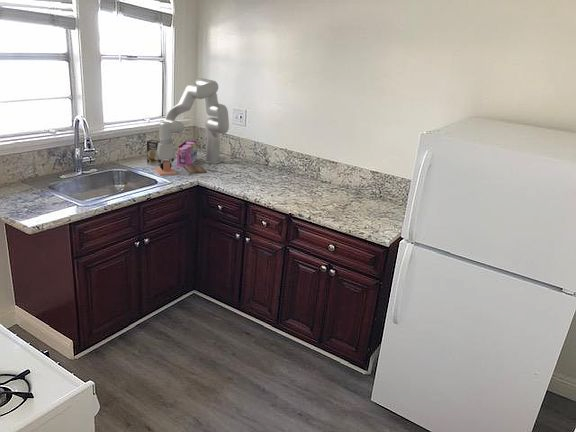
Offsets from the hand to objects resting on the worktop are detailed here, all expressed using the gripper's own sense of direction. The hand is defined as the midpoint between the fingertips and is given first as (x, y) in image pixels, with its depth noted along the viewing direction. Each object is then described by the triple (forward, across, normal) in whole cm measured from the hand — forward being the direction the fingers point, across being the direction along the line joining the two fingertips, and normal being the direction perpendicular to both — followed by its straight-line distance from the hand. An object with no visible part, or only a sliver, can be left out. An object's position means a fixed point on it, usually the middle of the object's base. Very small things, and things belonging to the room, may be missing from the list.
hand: (165, 168), depth 302 cm
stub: (+2, 0, 0) cm, 2 cm away
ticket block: (+2, -20, 0) cm, 20 cm away
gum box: (+3, -20, -18) cm, 27 cm away
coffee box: (+3, +2, -18) cm, 19 cm away
